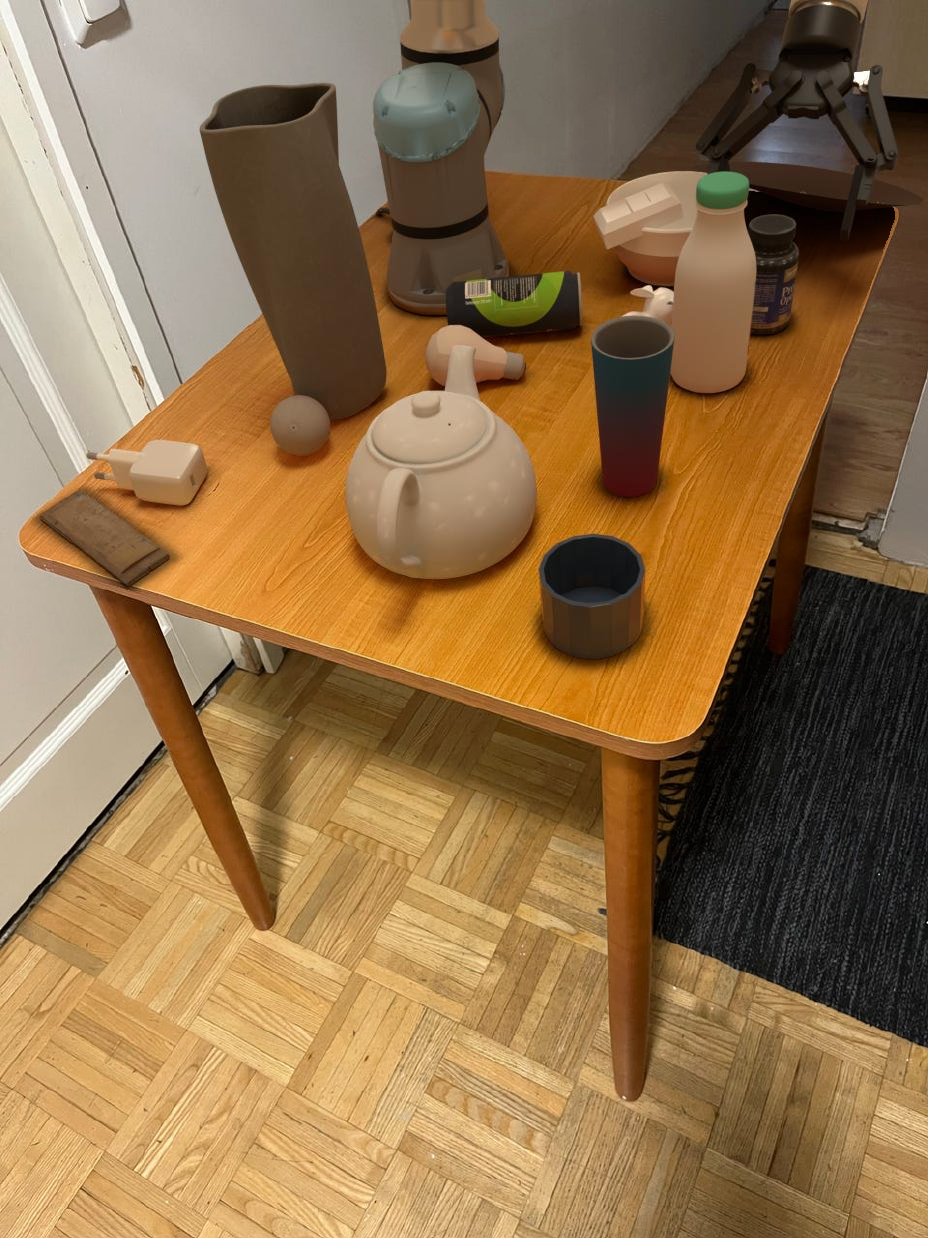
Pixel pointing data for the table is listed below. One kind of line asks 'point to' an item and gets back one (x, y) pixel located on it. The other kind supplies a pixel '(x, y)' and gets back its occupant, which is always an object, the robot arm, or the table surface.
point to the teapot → (441, 482)
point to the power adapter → (157, 471)
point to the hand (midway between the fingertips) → (776, 230)
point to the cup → (631, 399)
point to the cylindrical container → (592, 595)
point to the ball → (300, 425)
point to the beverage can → (516, 304)
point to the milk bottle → (714, 289)
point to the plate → (815, 186)
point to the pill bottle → (773, 271)
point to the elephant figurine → (655, 303)
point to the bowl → (659, 229)
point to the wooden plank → (104, 537)
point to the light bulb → (486, 360)
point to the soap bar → (637, 214)
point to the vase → (299, 238)
